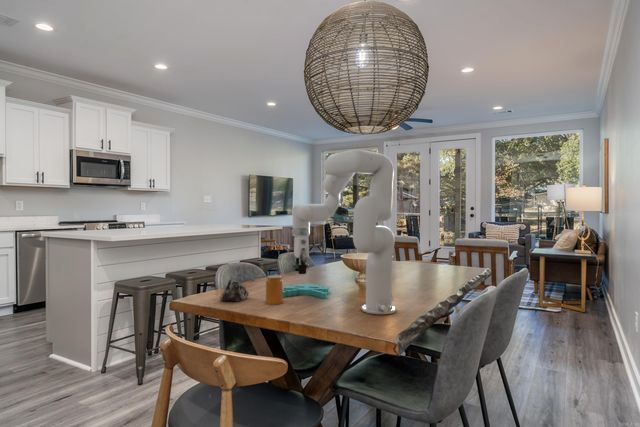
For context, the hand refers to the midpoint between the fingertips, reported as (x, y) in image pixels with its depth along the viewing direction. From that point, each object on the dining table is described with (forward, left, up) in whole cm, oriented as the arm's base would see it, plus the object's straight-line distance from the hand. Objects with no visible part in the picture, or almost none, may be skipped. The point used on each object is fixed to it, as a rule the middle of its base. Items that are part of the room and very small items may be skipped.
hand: (300, 272), depth 181 cm
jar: (-13, +14, -10) cm, 21 cm away
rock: (-4, +29, -10) cm, 31 cm away
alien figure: (+2, -3, -10) cm, 11 cm away
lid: (0, 0, +3) cm, 3 cm away
